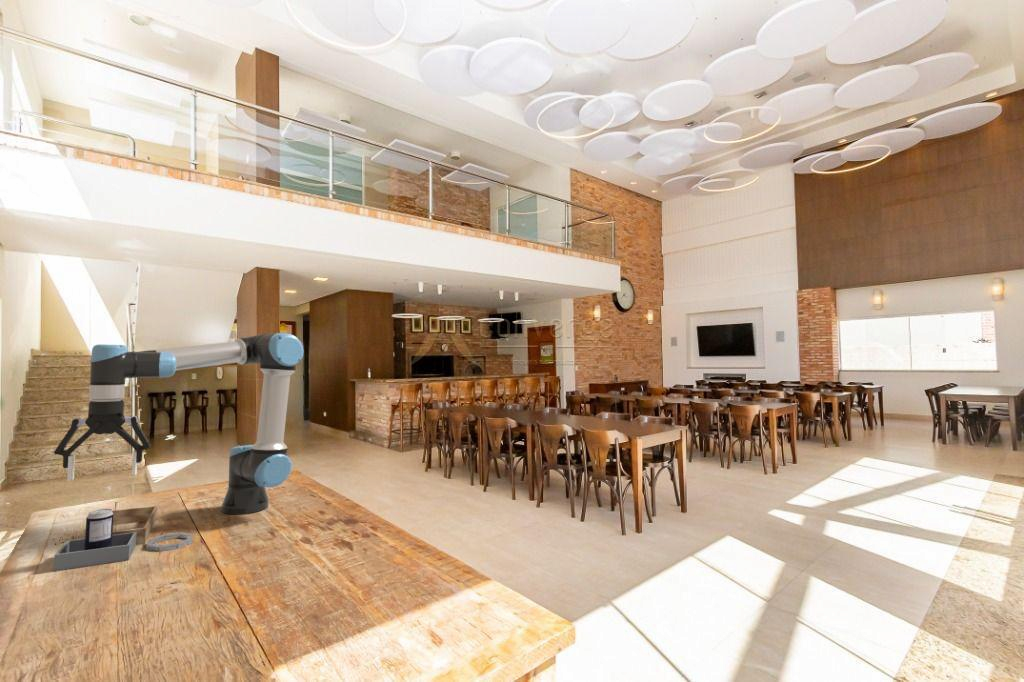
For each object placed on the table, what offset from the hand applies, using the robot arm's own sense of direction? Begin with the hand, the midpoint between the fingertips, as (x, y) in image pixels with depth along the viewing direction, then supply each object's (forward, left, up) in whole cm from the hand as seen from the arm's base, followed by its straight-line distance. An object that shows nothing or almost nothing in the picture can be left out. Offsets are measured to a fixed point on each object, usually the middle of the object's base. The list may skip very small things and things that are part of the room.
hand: (103, 477), depth 132 cm
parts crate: (-3, -18, -22) cm, 29 cm away
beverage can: (0, 0, -21) cm, 21 cm away
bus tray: (0, 0, -22) cm, 22 cm away
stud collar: (-16, -3, -22) cm, 27 cm away
